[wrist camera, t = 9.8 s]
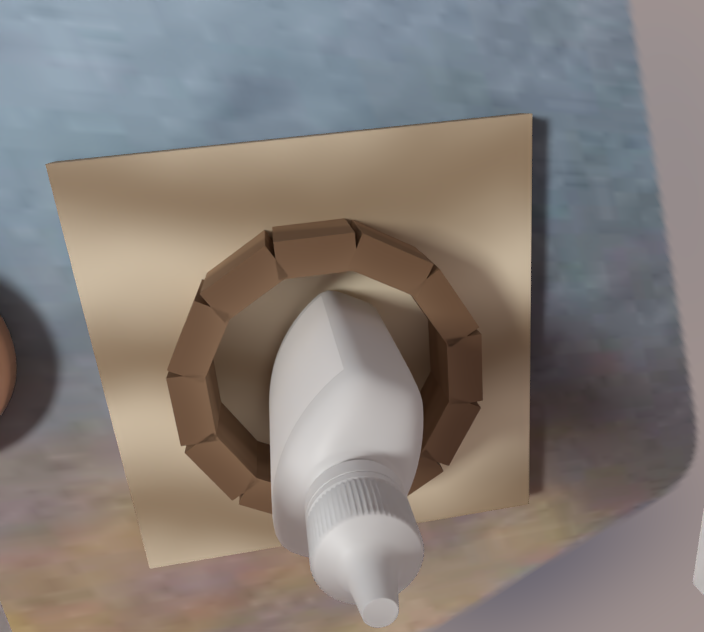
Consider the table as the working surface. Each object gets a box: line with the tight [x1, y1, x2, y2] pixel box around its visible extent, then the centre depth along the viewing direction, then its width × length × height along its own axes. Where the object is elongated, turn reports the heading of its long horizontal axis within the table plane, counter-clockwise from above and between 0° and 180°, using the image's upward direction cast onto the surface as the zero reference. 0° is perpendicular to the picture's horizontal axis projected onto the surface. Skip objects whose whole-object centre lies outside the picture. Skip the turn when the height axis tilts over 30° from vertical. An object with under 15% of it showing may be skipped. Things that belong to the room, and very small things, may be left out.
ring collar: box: [46, 113, 532, 568], centre depth 22 cm, size 16×16×4 cm
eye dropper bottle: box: [269, 290, 424, 628], centre depth 17 cm, size 4×6×12 cm
